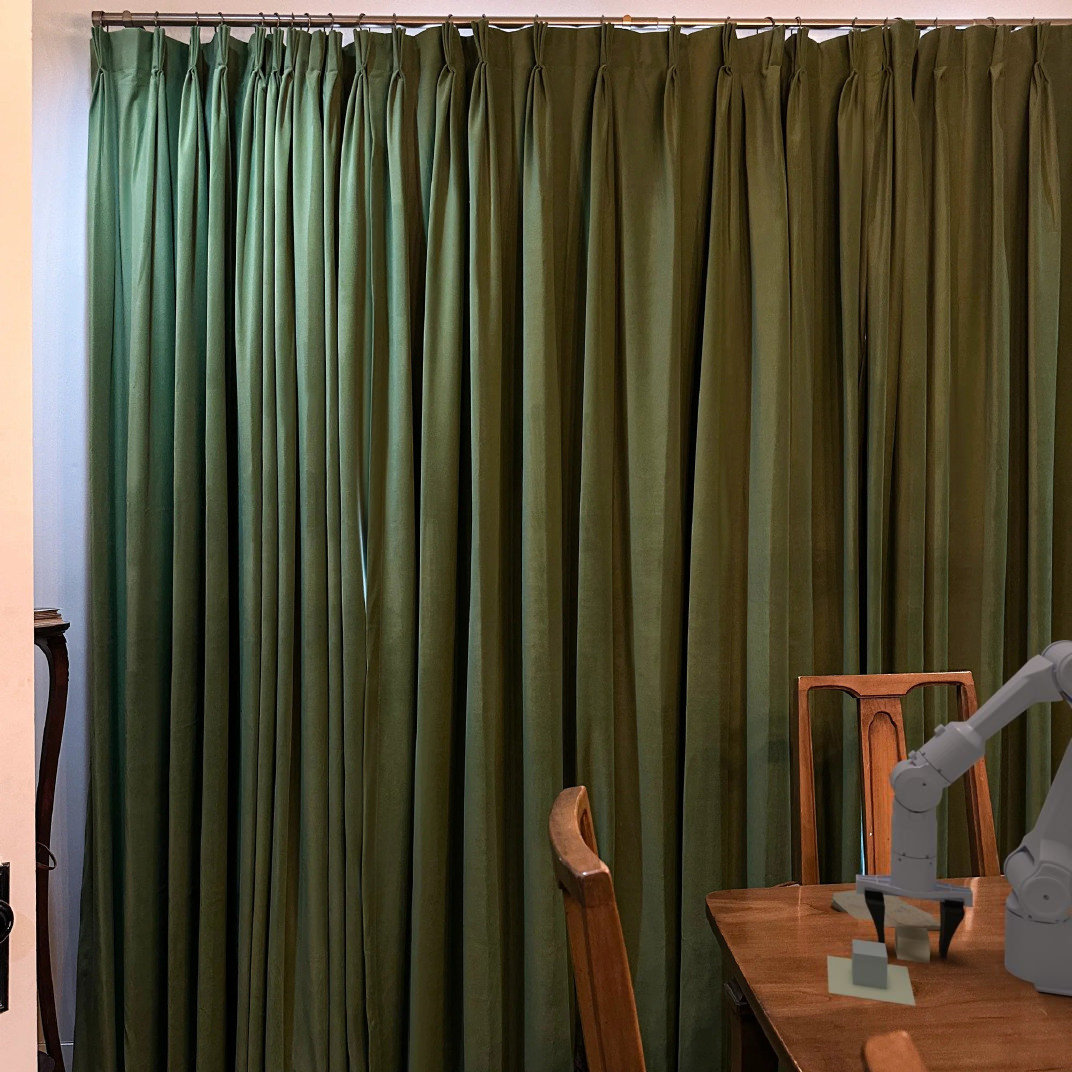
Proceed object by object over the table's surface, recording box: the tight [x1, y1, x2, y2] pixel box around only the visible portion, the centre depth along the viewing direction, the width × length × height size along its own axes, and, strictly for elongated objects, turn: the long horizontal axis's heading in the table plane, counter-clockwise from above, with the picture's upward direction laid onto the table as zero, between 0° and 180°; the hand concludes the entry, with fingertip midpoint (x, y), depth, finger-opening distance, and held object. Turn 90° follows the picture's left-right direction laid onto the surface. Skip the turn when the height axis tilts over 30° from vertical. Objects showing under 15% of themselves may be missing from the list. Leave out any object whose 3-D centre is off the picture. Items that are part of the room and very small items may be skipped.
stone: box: [829, 889, 940, 931], centre depth 136 cm, size 15×11×3 cm
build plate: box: [826, 955, 916, 1007], centre depth 116 cm, size 10×10×1 cm
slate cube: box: [851, 938, 889, 989], centre depth 116 cm, size 4×4×4 cm
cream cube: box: [894, 925, 931, 964], centre depth 123 cm, size 4×4×4 cm
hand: (911, 951), depth 123 cm, fingers open, 7 cm apart
